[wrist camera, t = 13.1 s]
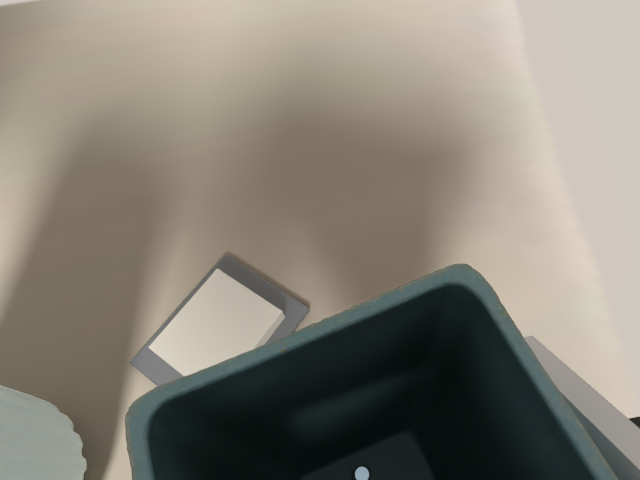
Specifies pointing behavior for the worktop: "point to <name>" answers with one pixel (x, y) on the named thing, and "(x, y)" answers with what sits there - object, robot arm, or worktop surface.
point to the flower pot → (373, 400)
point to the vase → (37, 440)
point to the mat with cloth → (219, 323)
